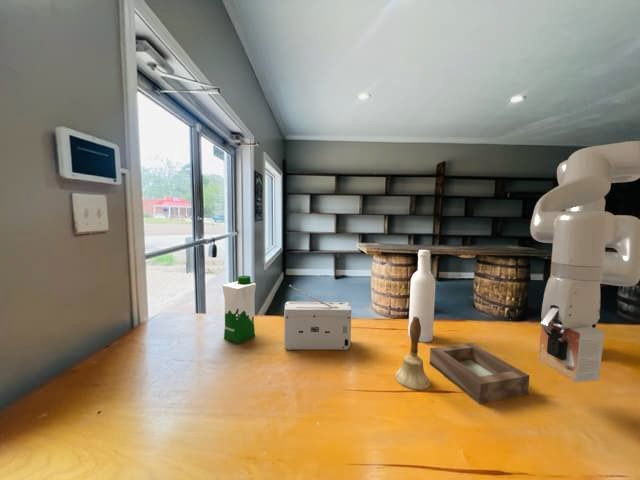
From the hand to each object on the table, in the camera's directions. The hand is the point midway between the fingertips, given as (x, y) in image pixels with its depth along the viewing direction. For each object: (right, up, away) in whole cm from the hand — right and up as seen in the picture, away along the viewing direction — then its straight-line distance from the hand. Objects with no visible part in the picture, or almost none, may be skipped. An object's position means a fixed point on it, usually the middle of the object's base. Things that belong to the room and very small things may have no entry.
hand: (568, 353), depth 54 cm
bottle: (-19, -9, +33) cm, 39 cm away
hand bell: (-30, -11, +9) cm, 33 cm away
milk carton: (-80, -8, +30) cm, 86 cm away
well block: (-14, -11, +10) cm, 20 cm away
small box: (0, -4, 0) cm, 4 cm away
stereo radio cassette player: (-54, -9, +25) cm, 60 cm away
